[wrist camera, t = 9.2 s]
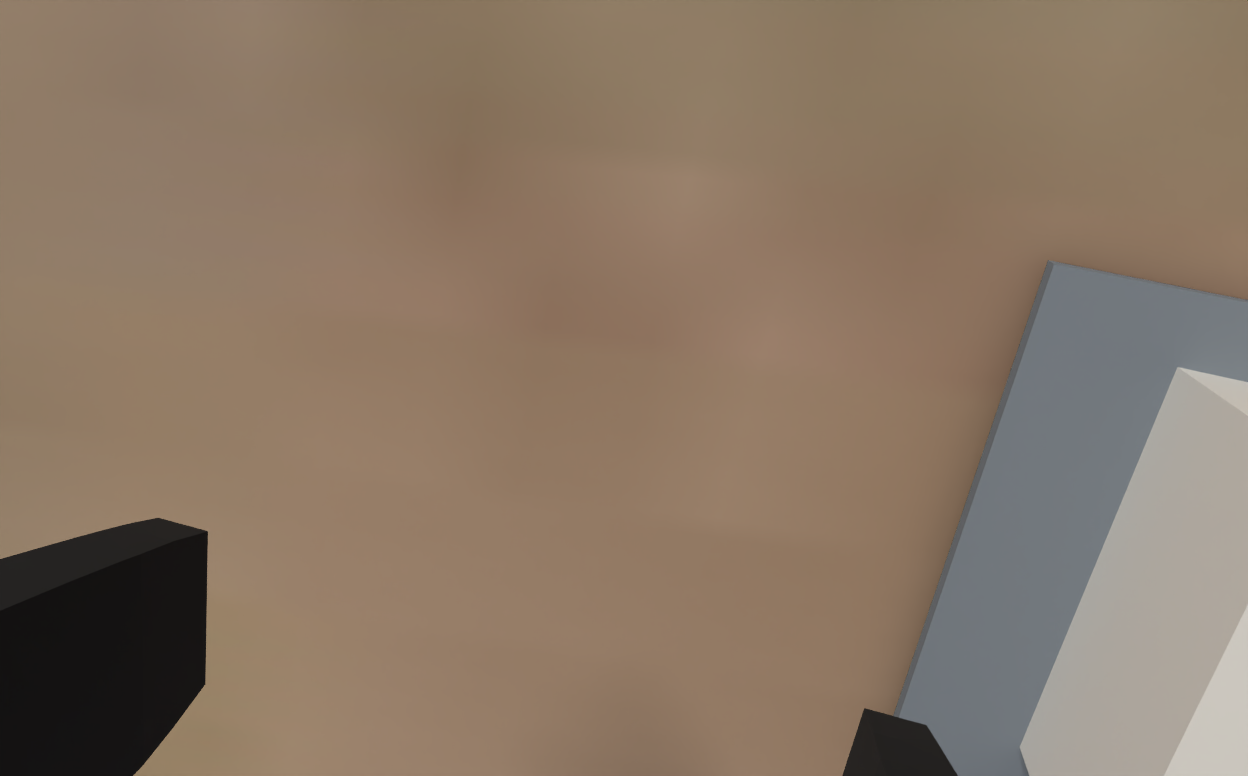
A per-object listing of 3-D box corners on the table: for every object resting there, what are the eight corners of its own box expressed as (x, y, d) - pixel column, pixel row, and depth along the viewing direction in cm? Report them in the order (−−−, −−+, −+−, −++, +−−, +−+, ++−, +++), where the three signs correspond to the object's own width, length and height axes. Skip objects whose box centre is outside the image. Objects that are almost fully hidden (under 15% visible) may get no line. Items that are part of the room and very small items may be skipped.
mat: (1296, 899, 19) (1306, 916, 18) (871, 780, 20) (872, 794, 19) (1602, 371, 15) (1623, 378, 14) (1048, 260, 16) (1054, 263, 15)
